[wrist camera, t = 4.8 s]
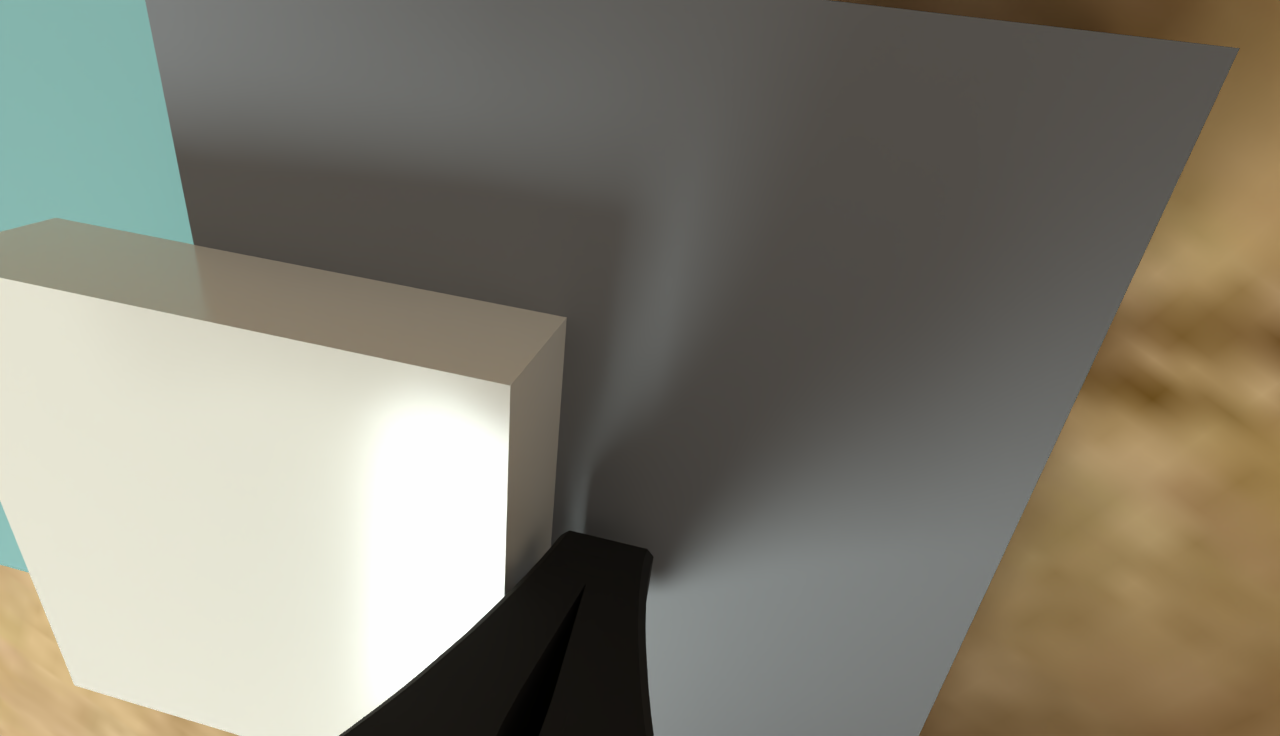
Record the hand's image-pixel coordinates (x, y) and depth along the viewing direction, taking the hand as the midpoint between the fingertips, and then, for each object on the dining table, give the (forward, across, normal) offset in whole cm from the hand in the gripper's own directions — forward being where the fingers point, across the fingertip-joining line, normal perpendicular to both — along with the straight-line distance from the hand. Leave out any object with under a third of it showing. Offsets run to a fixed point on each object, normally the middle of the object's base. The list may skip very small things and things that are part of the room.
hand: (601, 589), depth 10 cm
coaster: (+1, +5, 0) cm, 5 cm away
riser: (+4, +1, 0) cm, 4 cm away
